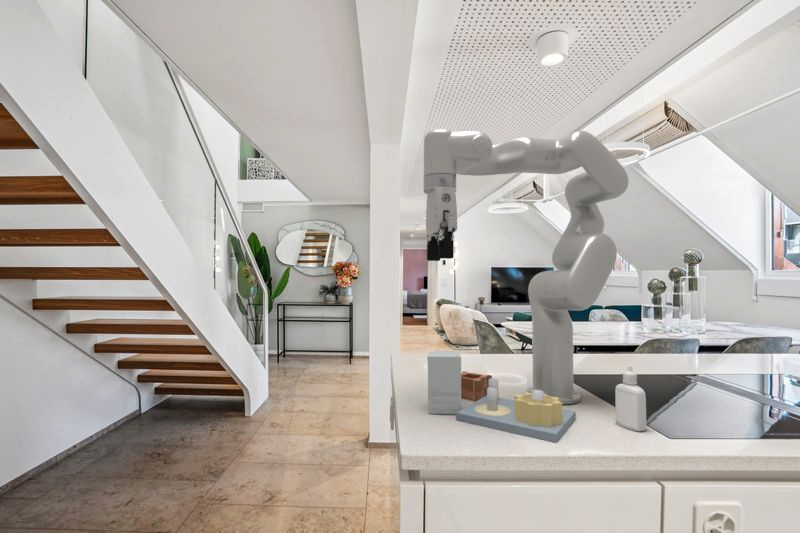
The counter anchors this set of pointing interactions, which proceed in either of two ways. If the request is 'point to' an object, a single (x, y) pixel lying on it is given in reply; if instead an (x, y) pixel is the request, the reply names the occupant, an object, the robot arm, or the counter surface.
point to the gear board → (514, 424)
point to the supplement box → (444, 382)
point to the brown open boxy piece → (474, 385)
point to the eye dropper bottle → (630, 403)
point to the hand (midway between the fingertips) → (439, 259)
